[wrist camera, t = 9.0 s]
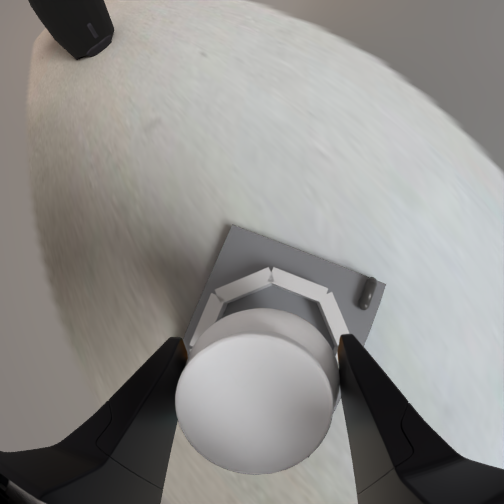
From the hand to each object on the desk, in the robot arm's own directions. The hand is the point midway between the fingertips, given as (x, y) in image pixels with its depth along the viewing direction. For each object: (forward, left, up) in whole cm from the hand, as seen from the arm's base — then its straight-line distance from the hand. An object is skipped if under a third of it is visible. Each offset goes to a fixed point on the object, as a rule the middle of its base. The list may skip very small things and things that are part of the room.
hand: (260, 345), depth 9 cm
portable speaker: (+27, +41, -11) cm, 50 cm away
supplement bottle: (-1, -1, -7) cm, 7 cm away
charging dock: (-1, 0, -11) cm, 11 cm away
